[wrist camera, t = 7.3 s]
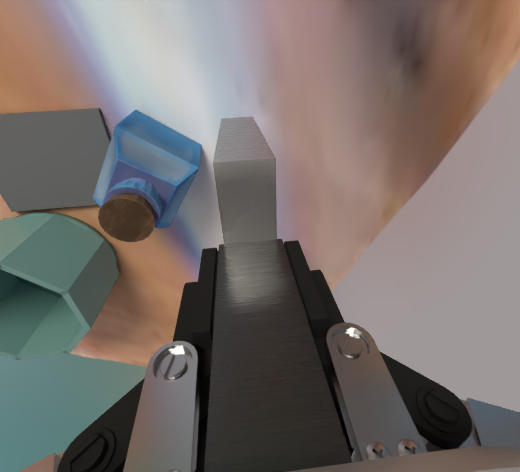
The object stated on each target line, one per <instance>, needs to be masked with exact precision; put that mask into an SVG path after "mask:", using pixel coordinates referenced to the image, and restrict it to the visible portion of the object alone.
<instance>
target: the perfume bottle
mask: <svg viewBox="0 0 520 472" xmlns="http://www.w3.org/2000/svg"><path fill="white" fill-rule="evenodd" d="M200 151H201V145H200V144H199V143H197V142H195V141H193V140H191V139H189V138H187V137H186V136H184V135H182V134H180V133H178V132H176V131H175V130H173V129H171V128H169V127H167V126H165V125H163V124H162V123H160V122H158V121H156V120H154V119H152V118H150V117H149V116H147V115H145V114H143V113H141V112H139V111H137V110H135V111H133V112H132V113H131V114H130V115H128V116H127V117H126V118H125V119H123V120H122V121H121V122H120V123H118V124H117V125H116V126H115V129H114V132H113V135H112V138H111V141H110V144H109V148H108V151H107V154H106V157H105V160H104V163H103V167H102V170H101V173H100V176H99V179H98V182H97V185H96V189H95V192H94V195H93V199H94V200H95V201H96V202H97V203H98V204H99V206H100V207H101V208H100V210H99V214H98V219H99V223H100V225H101V227H102V228H103V229H104V231H105V232H106V233H108V234H109V235H110V236H111V237H114V238H116V239H118V240H121V241H126V242H137V241H141V240H144V239H145V238H147V237H148V236H150V234H151V233H152V232H153V229H154V227H155V228H162V227H169V226H170V224H171V222H172V220H173V218H174V216H175V214H176V212H177V210H178V208H179V206H180V204H181V202H182V200H183V198H184V197H185V195H186V193H187V191H188V189H189V187H190V185H191V183H192V181H193V179H194V177H195V175H196V173H197V171H198V169H199V162H200Z"/></svg>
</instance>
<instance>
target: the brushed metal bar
mask: <svg viewBox="0 0 520 472" xmlns="http://www.w3.org/2000/svg"><path fill="white" fill-rule="evenodd" d="M213 166H214V173H215V181H216V188H217V195H218V202H219V209H220V217H221V224H222V231H223V238H224V244H221V245H219V253H218V268H217V284H216V299H215V315H214V330H213V345H212V361H211V376H210V392H209V407H208V422H207V438H206V453H205V469H204V472H290V471H297V470H304V469H311V468H318V467H325V466H332V465H339V464H346V463H353V462H352V459H351V456H350V453H349V449H348V446H347V443H346V440H345V437H344V434H343V430H342V427H341V424H340V421H339V418H338V415H337V412H336V408H335V405H334V402H333V399H332V396H331V393H330V389H329V386H328V383H327V380H326V377H325V374H324V371H323V367H322V364H321V361H320V358H319V355H318V352H317V348H316V345H315V342H314V339H313V336H312V333H311V330H310V326H309V323H308V320H307V317H306V314H305V311H304V307H303V304H302V301H301V298H300V295H299V292H298V289H297V285H296V282H295V279H294V276H293V273H292V270H291V266H290V263H289V260H288V257H287V254H286V251H285V248H284V244H283V241H282V239H277V229H276V158H275V156H274V154H273V152H272V151H271V149H270V147H269V145H268V143H267V142H266V140H265V138H264V136H263V134H262V133H261V131H260V129H259V127H258V125H257V124H256V122H255V120H254V118H253V117H239V118H223V119H221V124H220V129H219V135H218V140H217V145H216V150H215V155H214V160H213Z"/></svg>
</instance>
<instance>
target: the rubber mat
mask: <svg viewBox="0 0 520 472" xmlns="http://www.w3.org/2000/svg"><path fill="white" fill-rule="evenodd" d="M110 141H111V139H110V136H109V134H108V131H107V128H106V125H105V122H104V119H103V116H102V113H101V110H100V108H98V109H80V110H63V111H45V112H28V113H10V114H0V194H1V195H2V197H3V199H4V200H5V202H6V203H7V205H8V206H9V208H10V210H11V211H12V212H13V211H26V210H39V209H52V208H64V207H77V206H90V205H99V204H98V203H97V202H96V201H95V200H94V199H93V195H94V192H95V189H96V185H97V182H98V179H99V176H100V173H101V170H102V167H103V163H104V160H105V157H106V154H107V151H108V148H109V144H110Z"/></svg>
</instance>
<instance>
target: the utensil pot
mask: <svg viewBox="0 0 520 472" xmlns="http://www.w3.org/2000/svg"><path fill="white" fill-rule="evenodd" d="M119 274H120V273H119V271H118V260H117V256H116V253H115V251H114V249H113V247H112V246H111V244H110V243H109V241H108V240H107V239H106V238H105V237H104V236H103V235H102V234H101V233H100V232H99V231H97V230H96V229H94V228H93V227H92V226H90V225H88V224H87V223H85V222H83V221H81V220H79V219H76V218H74V217H71V216H68V215H64V214H60V213H55V212H45V211H42V212H30V213H26V214H22V215H20V216H17V217H14V218H4V219H2V220H1V221H0V355H2V356H6V357H9V358H13V359H16V360H21V359H30V358H39V357H48V356H57V355H66V354H69V353H70V352H71V351H72V350H73V349H74V347H75V346H76V345H77V344H78V343H79V342H80V340H81V339H82V338H83V337H84V336H85V334H86V333H87V332H88V331H89V330H90V329H91V327H92V325H93V323H94V321H95V319H96V318H97V316H98V314H99V312H100V310H101V308H102V306H103V304H104V302H105V300H106V299H107V297H108V295H109V293H110V291H111V289H112V287H113V285H114V283H115V281H116V280H117V278H118V276H119Z"/></svg>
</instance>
